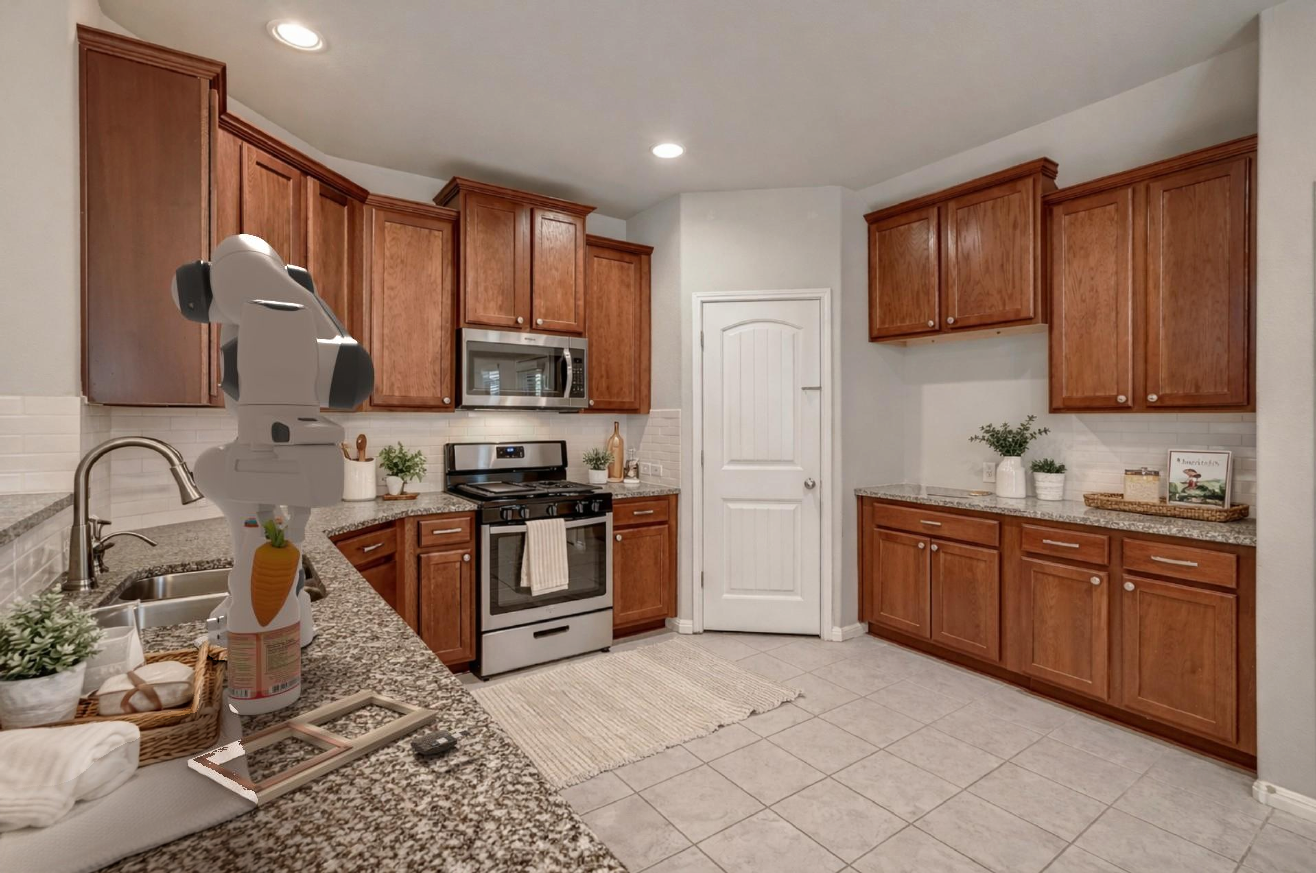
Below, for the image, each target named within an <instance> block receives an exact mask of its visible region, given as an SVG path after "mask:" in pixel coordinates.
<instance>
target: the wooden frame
mask: <svg viewBox="0 0 1316 873" xmlns="http://www.w3.org/2000/svg"><path fill="white" fill-rule="evenodd" d="M370 704H374V705H376V706H379V707H383V708H386V709H388V710H393V711H395V712H397V713H402V714H404V715H403V716H402V717H399V718H397V719H394V720H392V721H391V722H388V723H386V724H384V725H382V726H380V727H377V728H375V729H373V730H371V731H368V732H367V733H364V734H362V735H360V736H358V737H355V738H353V739H351V738H350V739H349V738H348V737H344V736H342V735H339V734H337V733H334V732H332V731H329V730H327V729H323V728H321V727H319V725H321V724H324V723H326V722H328V721H331V720H333V719H337V718H338V717H341V716H343V715H346V714H348V713H350V712H352V711H353V712H354V711H356V710H358V709H361V708H362V707H365V706H368V705H370ZM436 720H437V712H436V711H433V710H430V709H426V708H424V707H421V706H417V705H414V704H410V703H407V702H404V701H401V700H398V699H395V698H392V697H389V696H385V695H384V694H379V693H376V692H373V691H369V690H367V689H364V690H362V691H358V692H356V693H354V694H351V695H349V696H346V697H343V698H341V699H338V700H336V701H334V702H331V703H328V704H325V705H323V706H321V707H318V708H316V709H313V710H310V711H308V712H305V713H303V714H300V715H298V716H295V717H292V718H289V719H287V720H284V721H282V722H280V723H277V724H275V725H272V726H269V727H266V728H264V729H262V730H259V731H256V732H253V733H252V734H249V735H247V736H244V737H241V738H240V739H241V741H238V742H240V743H239V745H240V744H241V745H242V746H243V747H242V748H243V750H245V753H246V755H248V754H251V753H253V752H256V751H258V750H260V749H264V748H265V747H268V746H270V745H273V744H276V743H279V742H280V741H283V740H285V739H288V738H290V737H294V738H295V739H298V740H301V741H304V742H306V743H308V744H311V745H313V746H315V747H318V748H320V749H323V750H324V752H322V753H320V754H318V755H316V756H314V757H311V758H310V759H307V760H306V761H302V762H300V763H298V764H297V765H294V766H293V767H292V766H291V767H290V768H287V769H285V770H284V771H281V772H278V773H277V774H275V775H272V776H270V777H268V778H266V779H263V780H261V781H259V782H257V783H254V782H252V781H250V780H249V779H247V778H244V777H242V776H241V775H239V774H237V773H234V772H233V771H231V770H229V769H226V768H225V767H223V766H221V765H217V764H215V763H213V762H211V761H209V760H207V759H206V758H208V757H211V756H213V755H215V753H213V752H217V750H215V751H213V752H212V753H211V754H210V753H208V754H205V755H203V756H200V757H197V758H195V759H193V760H194V761H196V762H198V763H201V764H202V765H203V766H206V767H208V768H211V769H212V770H215V771H216V772H218V773H219V774H222V775H223V776H224V777H227V778H229V779H231V780H233V781H235V782H237V783H238V784H239V785H242V787H245V788H247V790H252V791H254V792H255V794H256V796H257V798H258V803H257V804H258V805H257V806H258V807H260V806H262V805H264V804H266V803H268V802H270V801H272V800H274V799H276V798H278V797H280V796H282V795H285V794H287V793H289V792H291V791H292V790H295V789H297V788H299V787H301V786H303V785H305V784H307V783H309V782H311V781H314V780H315V779H317V778H320V777H321V776H324V775H325V774H327V773H330V772H332V771H334V770H336V769H338V768H340V767H342V766H344V765H346V764H348V763H350V762H352V761H354V760H356V759H359V758H361V757H362V756H364V755H366V754H368V753H370V752H372V751H375V750H377V749H379V748H382V747H383V746H385V745H386V744H387V745H388V744H389V743H390V742H393V741H396V740H397V739H400V738H401V737H403V736H405V735H408V734H410V733H411V732H414V731H417V730H418V729H419V728H422V727H424V726H426V725H428V724H430V723H432V722H434V721H436ZM224 748H228V747H223V748H222V749H221V748H220V749H218V750H222V751H223V750H227V749H224ZM222 751H220V752H222ZM218 752H219V751H218ZM209 763H211V764H209ZM232 772H233V773H232ZM234 774H235V775H234ZM245 788H243V789H244V790H246V789H245Z"/></svg>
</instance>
